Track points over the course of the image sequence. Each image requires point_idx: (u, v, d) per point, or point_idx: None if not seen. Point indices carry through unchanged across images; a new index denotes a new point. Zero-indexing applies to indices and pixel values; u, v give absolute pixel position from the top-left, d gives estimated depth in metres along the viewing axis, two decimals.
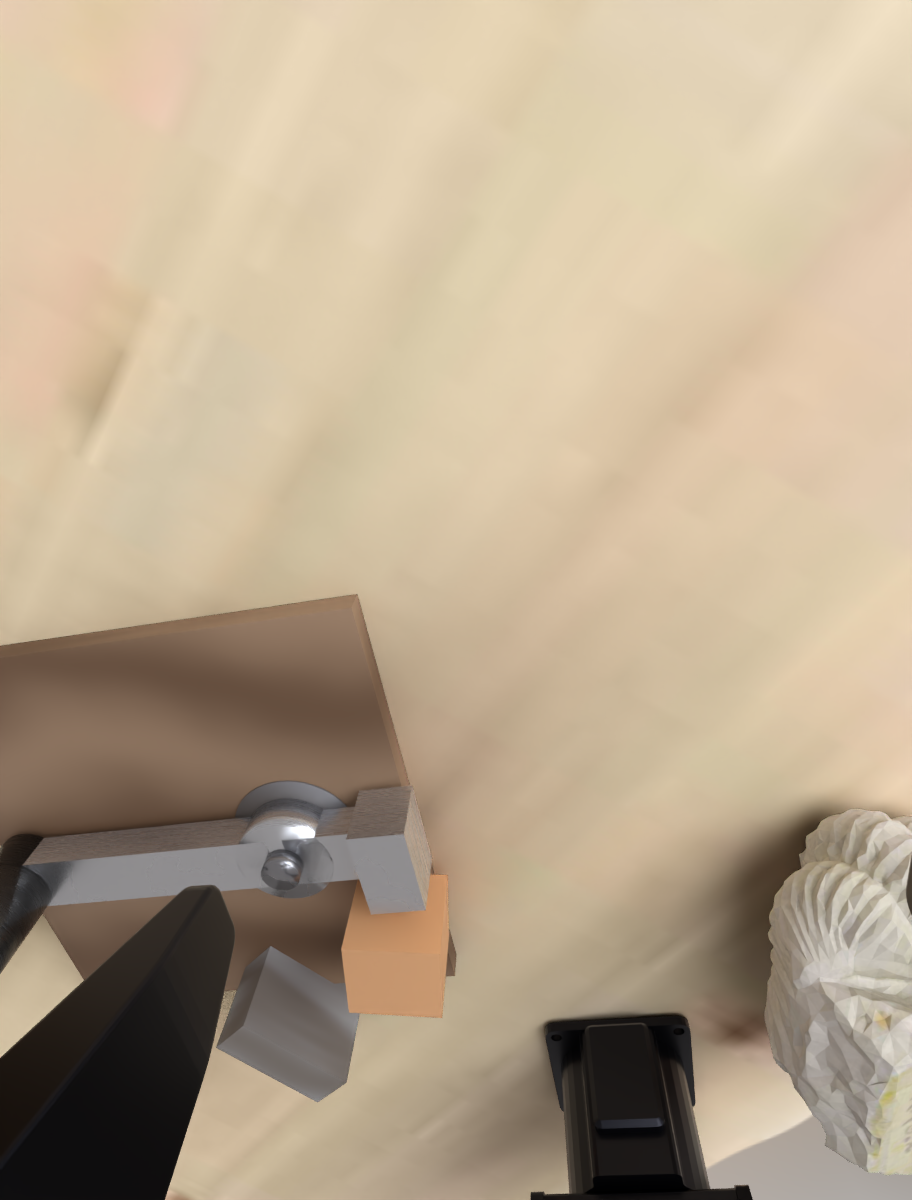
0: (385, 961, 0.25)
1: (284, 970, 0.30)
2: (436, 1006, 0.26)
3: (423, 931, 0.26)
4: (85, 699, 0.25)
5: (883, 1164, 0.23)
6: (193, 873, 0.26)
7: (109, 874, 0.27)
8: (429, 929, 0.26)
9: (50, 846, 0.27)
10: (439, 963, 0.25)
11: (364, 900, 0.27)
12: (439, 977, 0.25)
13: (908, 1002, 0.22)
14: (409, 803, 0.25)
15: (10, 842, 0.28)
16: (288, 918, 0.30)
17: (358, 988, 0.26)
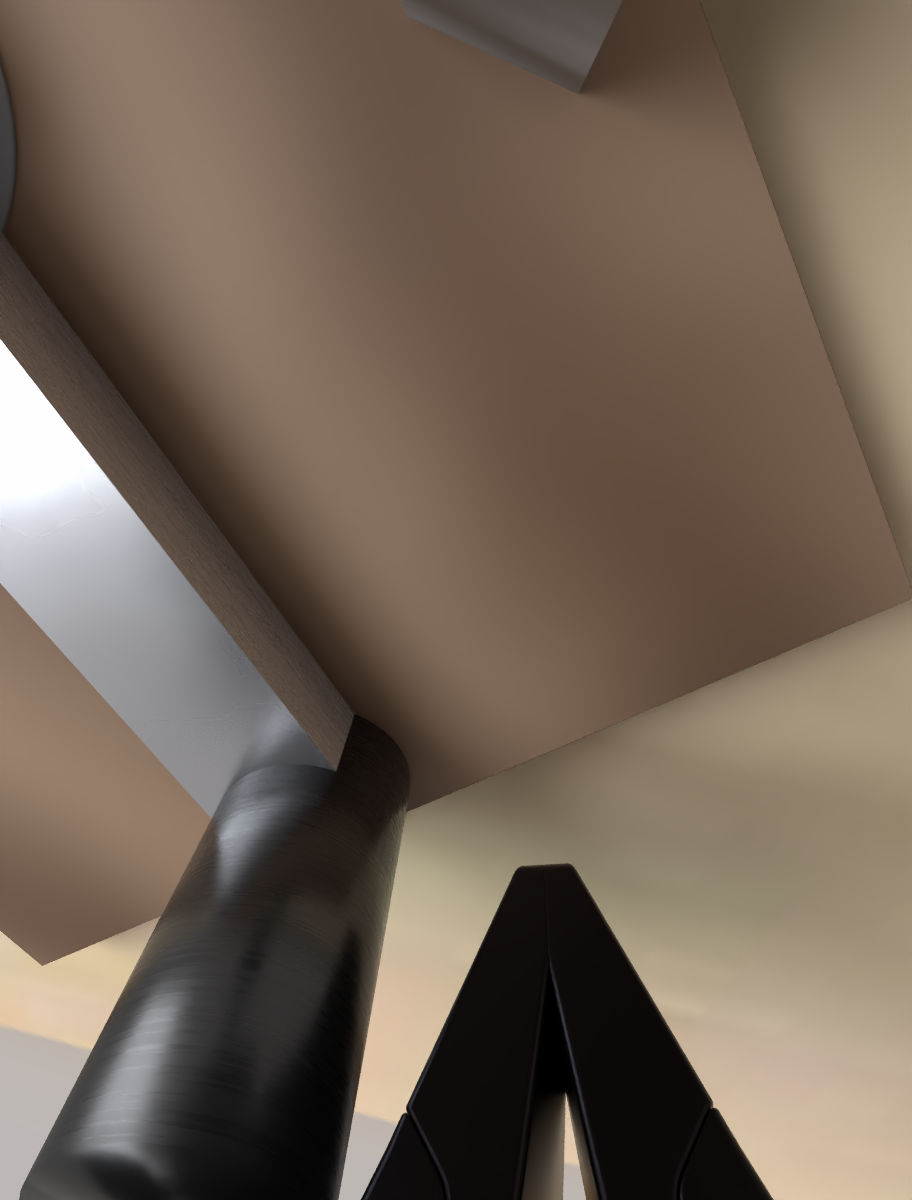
0: None
1: None
2: None
3: None
4: None
5: None
6: None
7: (116, 632, 0.09)
8: None
9: None
10: None
11: None
12: None
13: None
14: None
15: None
16: None
17: None
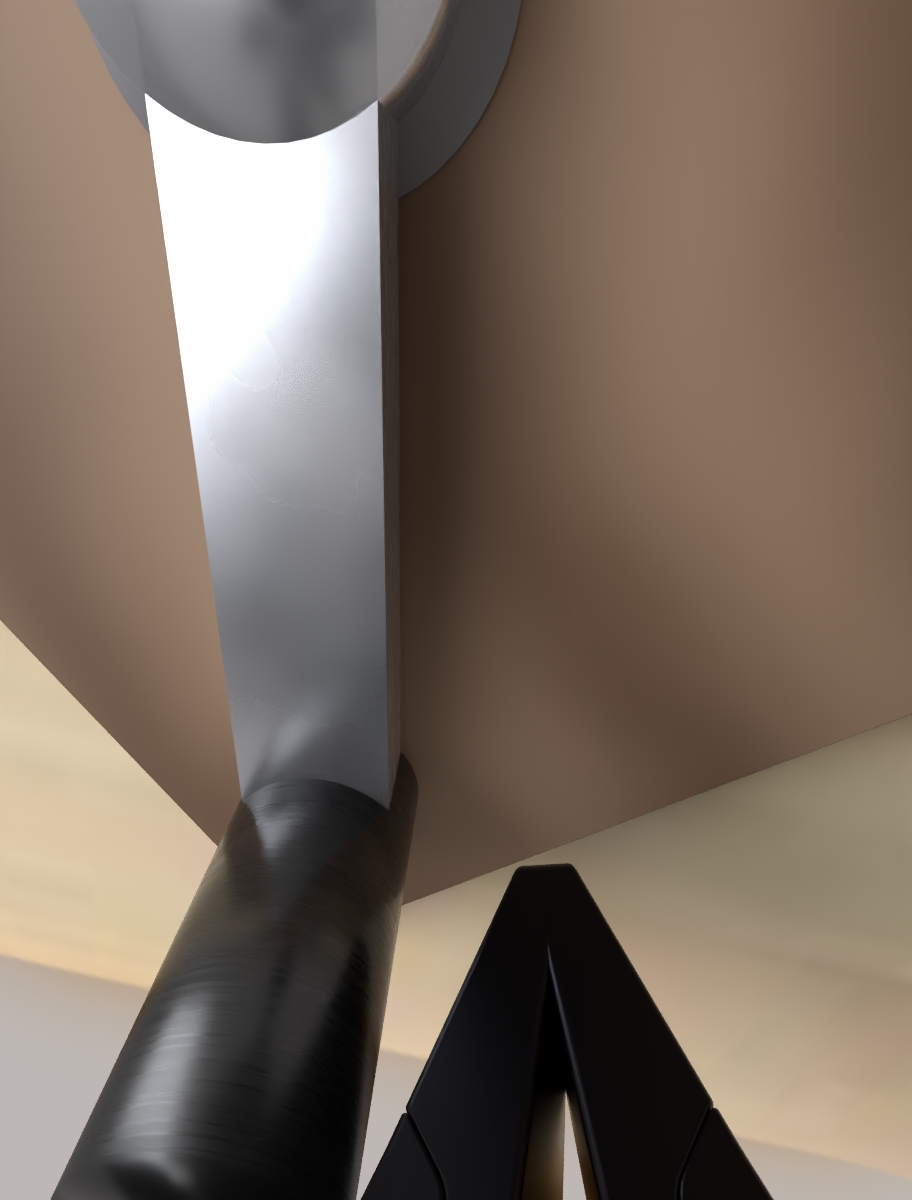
0: None
1: None
2: None
3: None
4: (172, 654, 0.12)
5: None
6: (290, 346, 0.08)
7: (282, 614, 0.09)
8: None
9: None
10: None
11: None
12: None
13: None
14: None
15: None
16: None
17: None
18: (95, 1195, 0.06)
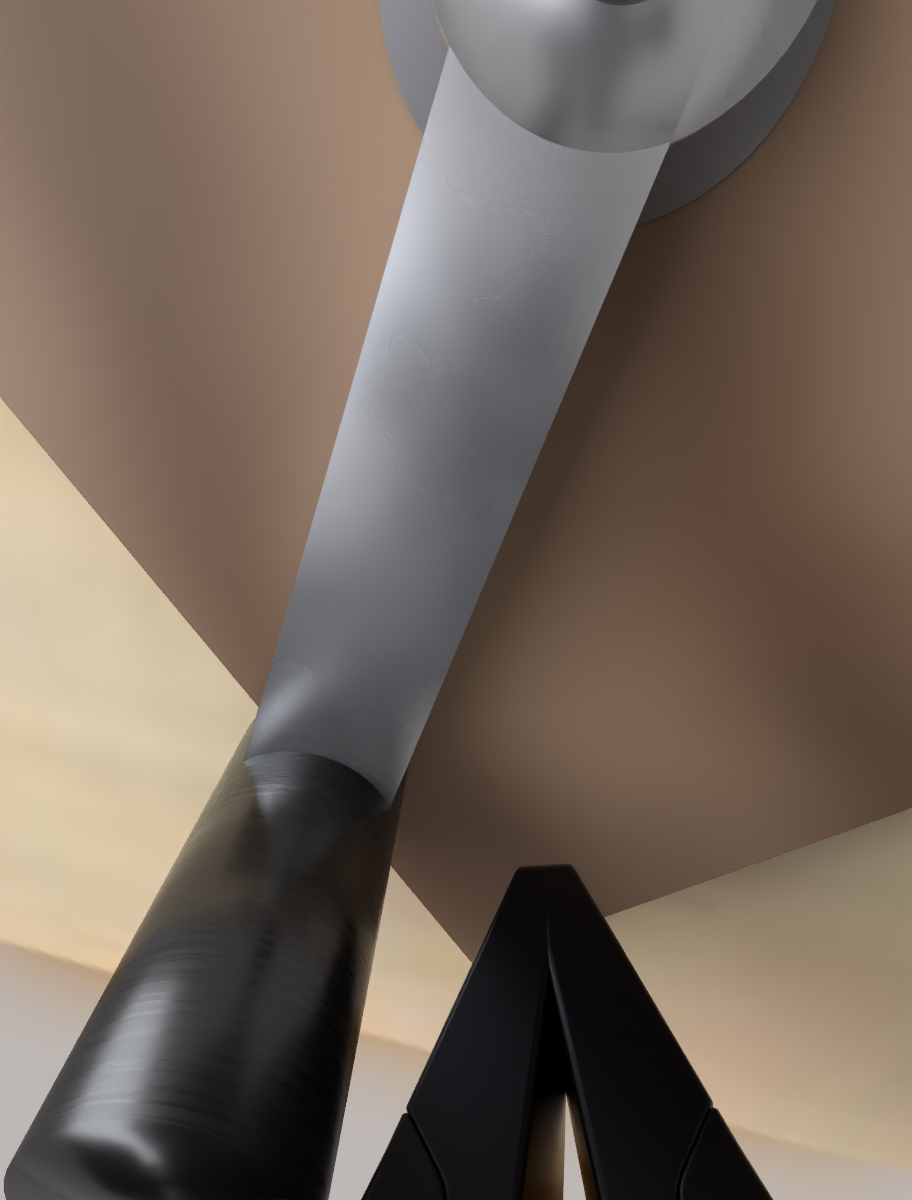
0: None
1: None
2: None
3: None
4: None
5: None
6: (487, 338, 0.07)
7: (365, 589, 0.09)
8: None
9: None
10: None
11: None
12: None
13: None
14: None
15: None
16: None
17: None
18: (74, 1156, 0.06)
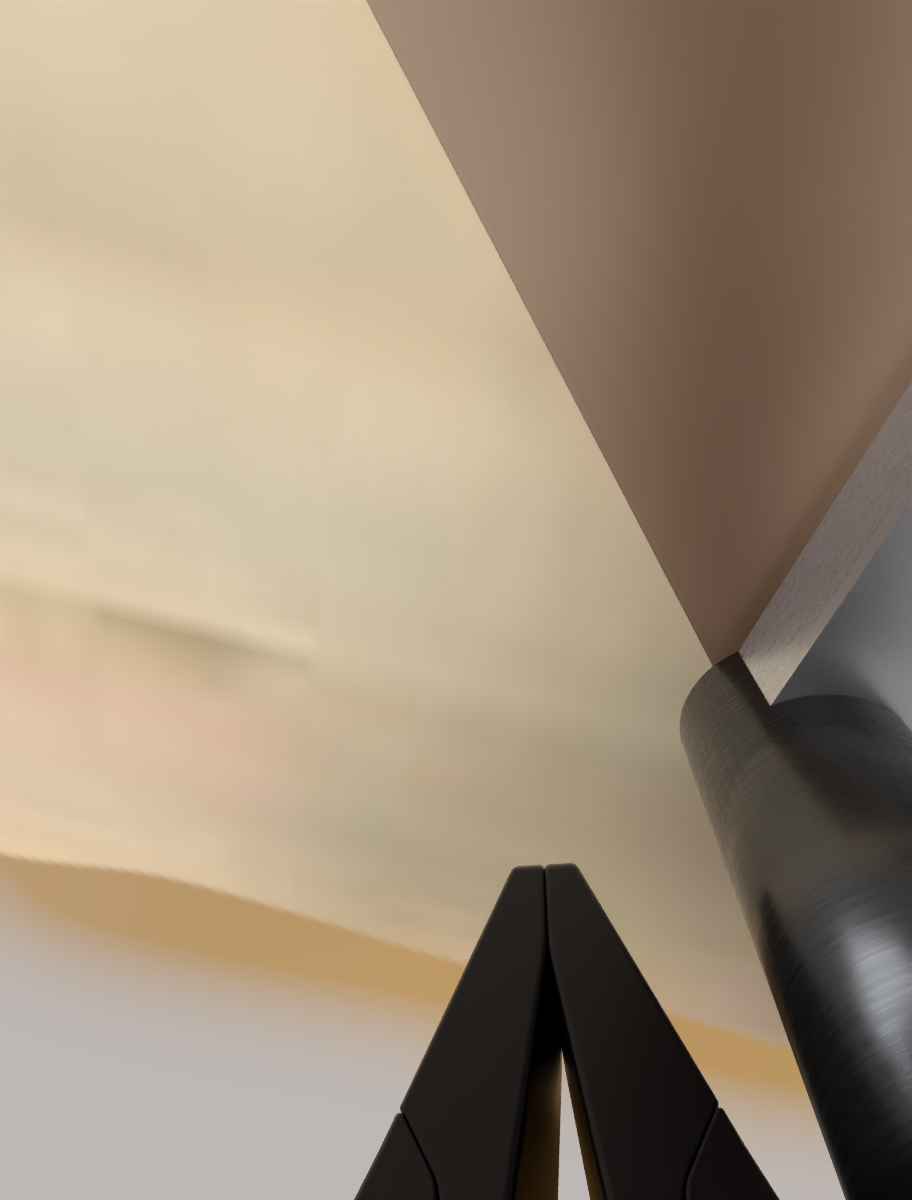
0: None
1: None
2: None
3: None
4: None
5: None
6: None
7: None
8: None
9: (773, 633, 0.10)
10: None
11: None
12: None
13: None
14: None
15: (691, 716, 0.10)
16: None
17: None
18: None
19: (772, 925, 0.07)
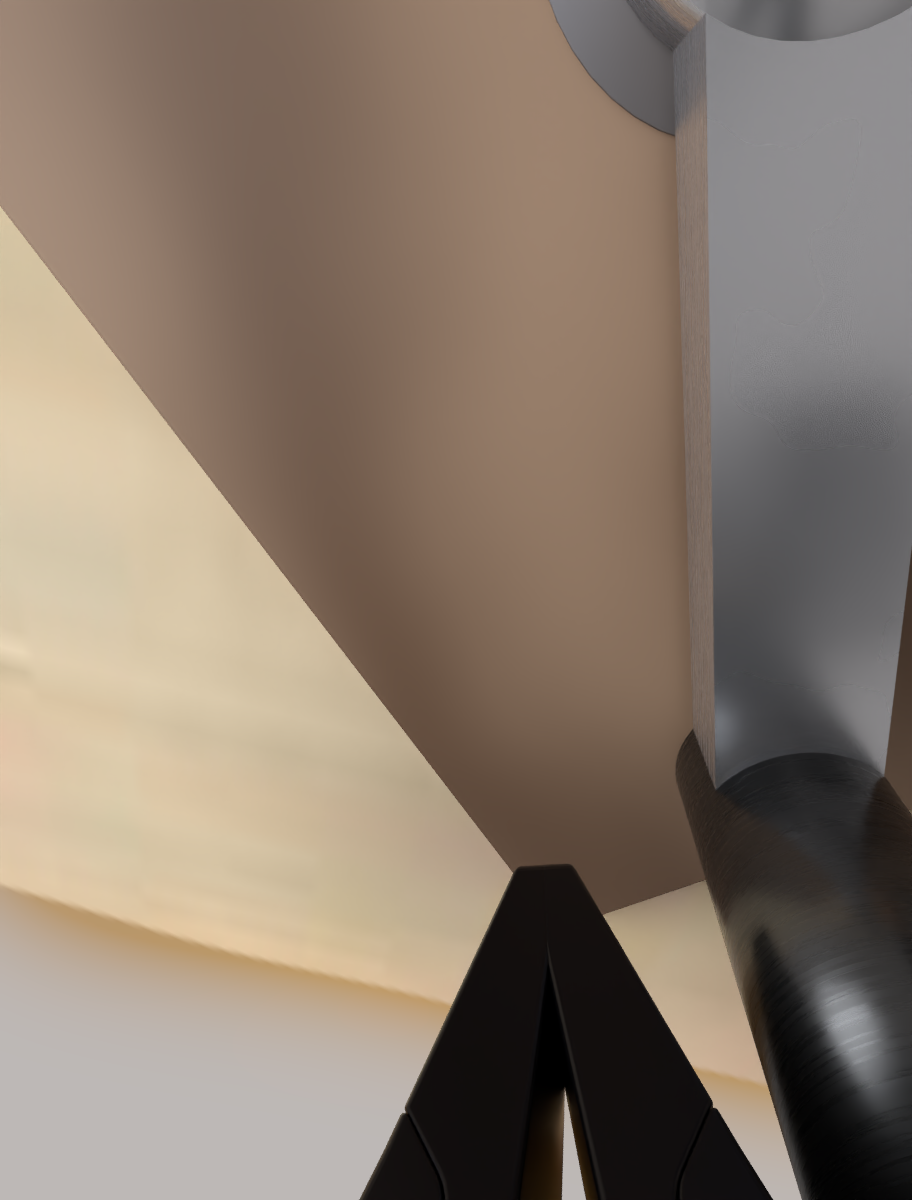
0: None
1: None
2: None
3: None
4: (476, 626, 0.11)
5: None
6: (838, 266, 0.07)
7: (788, 573, 0.08)
8: None
9: (700, 716, 0.10)
10: None
11: None
12: None
13: None
14: None
15: None
16: None
17: None
18: None
19: (749, 1021, 0.08)
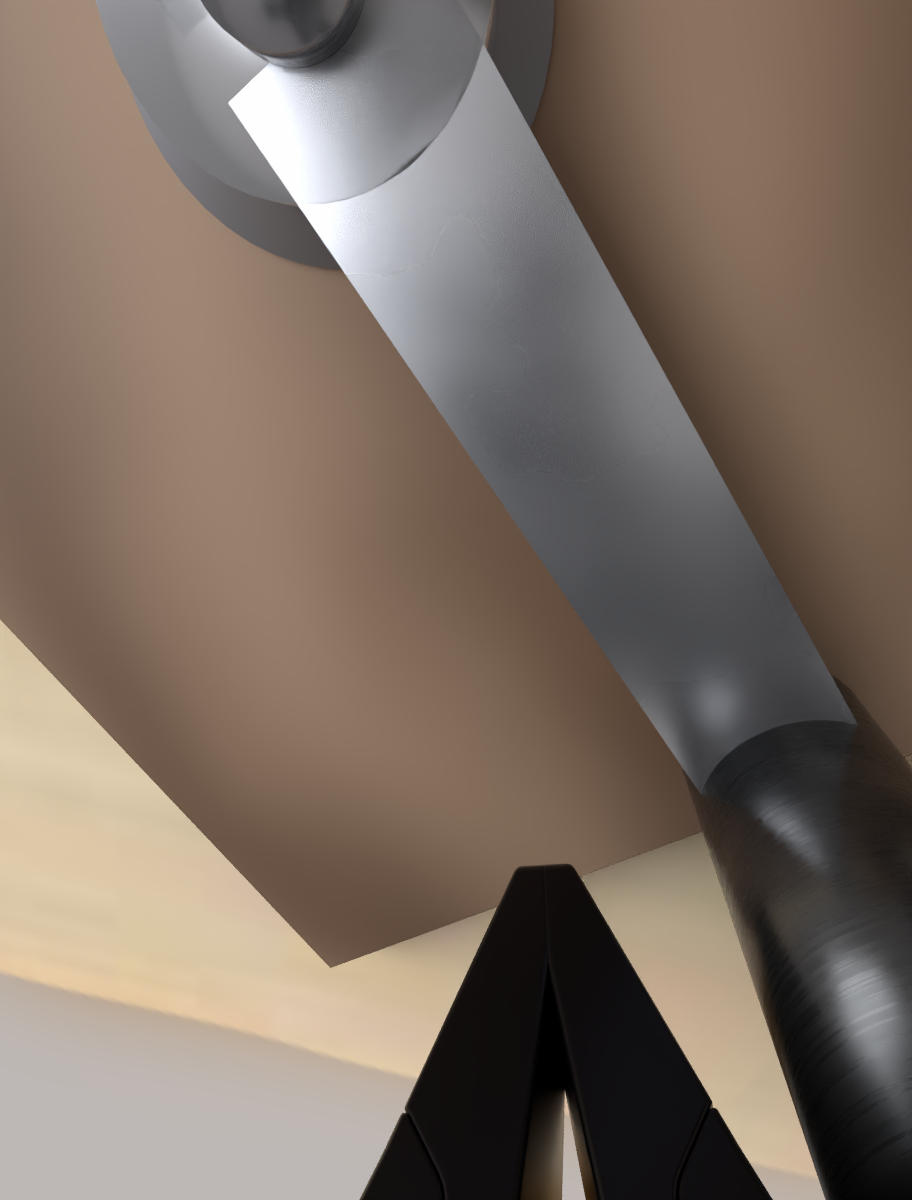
0: None
1: None
2: None
3: None
4: (201, 686, 0.12)
5: None
6: (522, 326, 0.07)
7: (644, 585, 0.09)
8: None
9: None
10: None
11: None
12: None
13: None
14: None
15: None
16: None
17: None
18: None
19: None
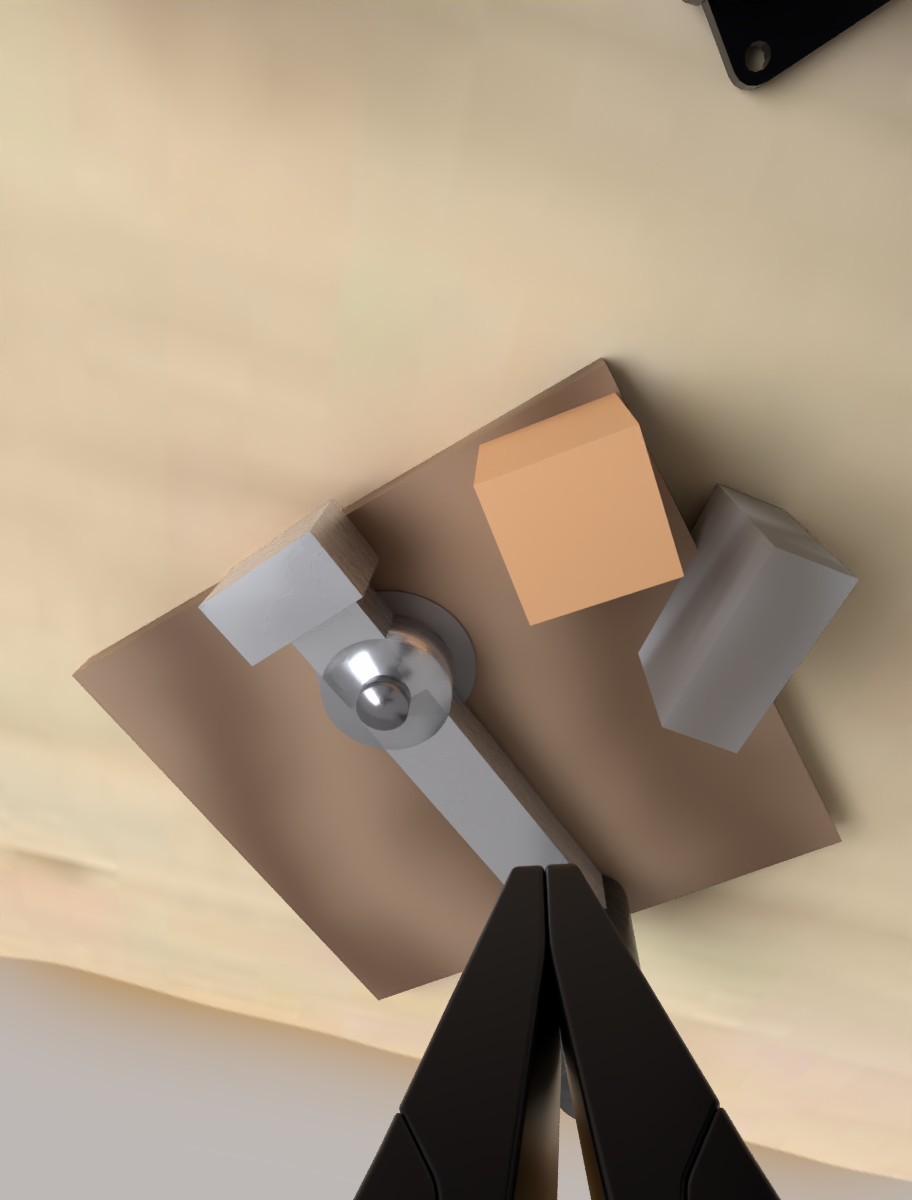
0: (529, 558, 0.15)
1: (658, 637, 0.19)
2: (610, 444, 0.14)
3: None
4: (322, 872, 0.25)
5: None
6: (464, 783, 0.20)
7: (515, 860, 0.22)
8: None
9: None
10: (497, 478, 0.15)
11: None
12: (530, 466, 0.14)
13: None
14: (222, 580, 0.19)
15: None
16: (568, 642, 0.20)
17: (614, 579, 0.15)
18: (567, 1091, 0.19)
19: None
